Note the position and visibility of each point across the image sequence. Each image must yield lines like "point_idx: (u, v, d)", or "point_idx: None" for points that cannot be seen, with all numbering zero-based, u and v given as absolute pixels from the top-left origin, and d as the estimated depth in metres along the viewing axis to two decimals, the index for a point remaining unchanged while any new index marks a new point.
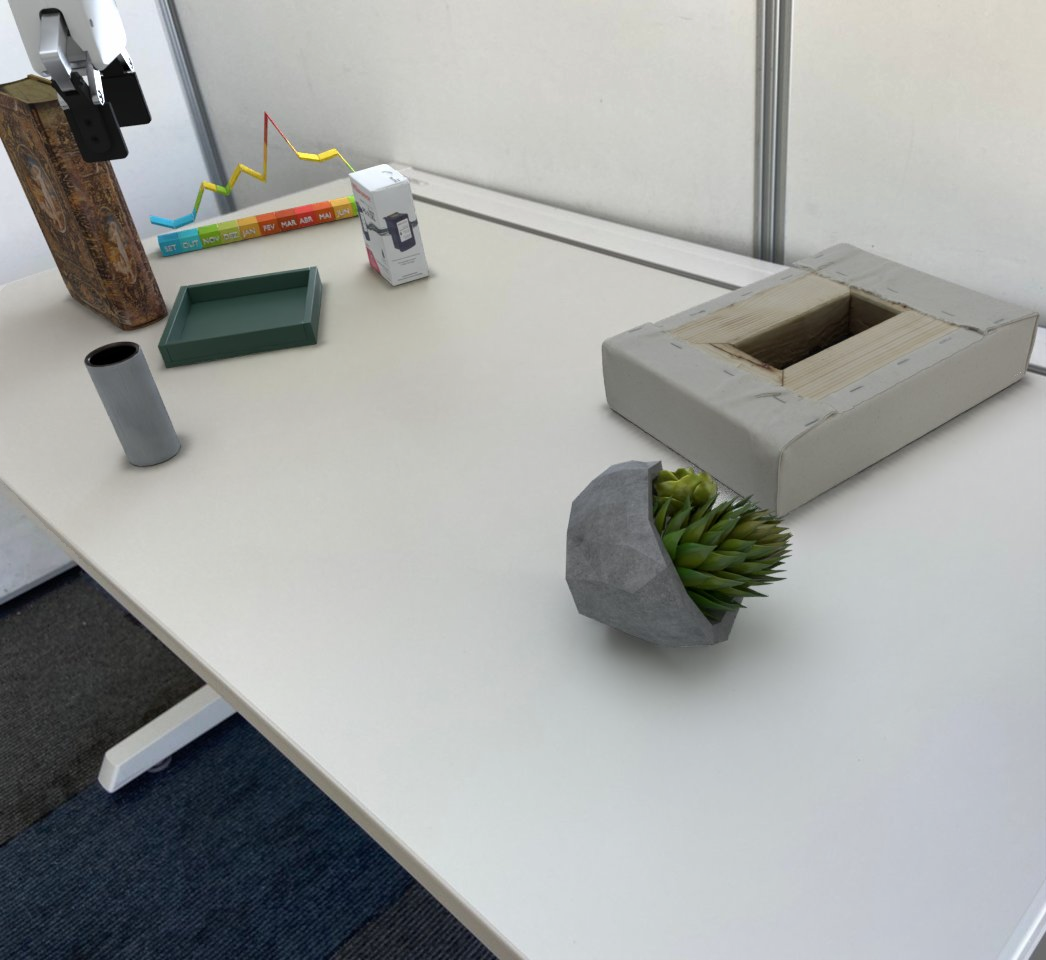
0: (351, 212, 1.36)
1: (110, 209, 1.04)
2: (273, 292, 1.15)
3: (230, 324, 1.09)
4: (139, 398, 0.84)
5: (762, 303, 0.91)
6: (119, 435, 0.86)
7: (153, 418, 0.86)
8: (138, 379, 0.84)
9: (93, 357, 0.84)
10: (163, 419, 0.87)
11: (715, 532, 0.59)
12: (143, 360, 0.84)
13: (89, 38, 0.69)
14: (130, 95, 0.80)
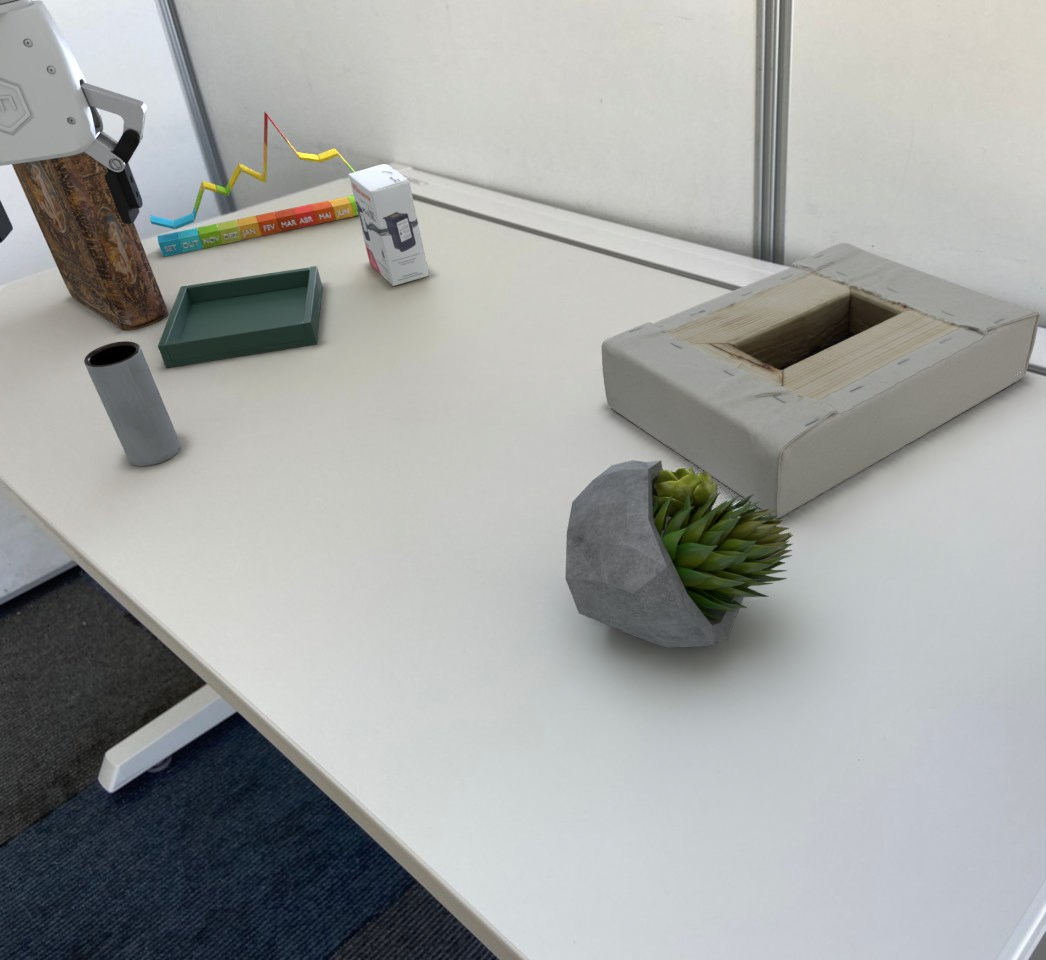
0: (351, 212, 1.36)
1: (110, 209, 1.04)
2: (273, 292, 1.15)
3: (230, 324, 1.09)
4: (139, 398, 0.84)
5: (762, 303, 0.91)
6: (119, 435, 0.86)
7: (153, 418, 0.86)
8: (138, 379, 0.84)
9: (93, 357, 0.84)
10: (163, 419, 0.87)
11: (715, 532, 0.59)
12: (143, 360, 0.84)
13: None
14: None
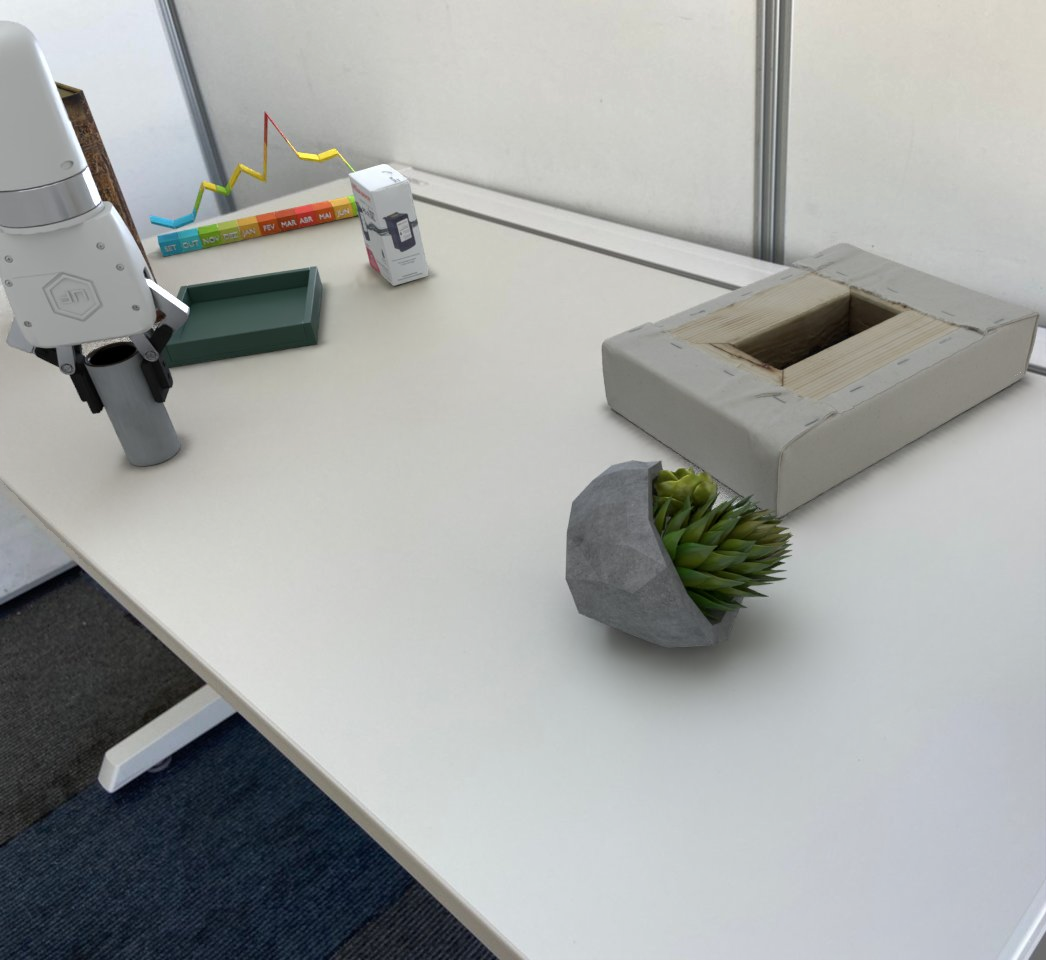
0: (351, 212, 1.36)
1: None
2: (273, 292, 1.15)
3: (230, 324, 1.09)
4: (139, 398, 0.84)
5: (762, 303, 0.91)
6: (119, 435, 0.86)
7: (153, 418, 0.86)
8: (138, 379, 0.84)
9: (93, 357, 0.84)
10: (163, 419, 0.87)
11: (715, 532, 0.59)
12: None
13: None
14: None
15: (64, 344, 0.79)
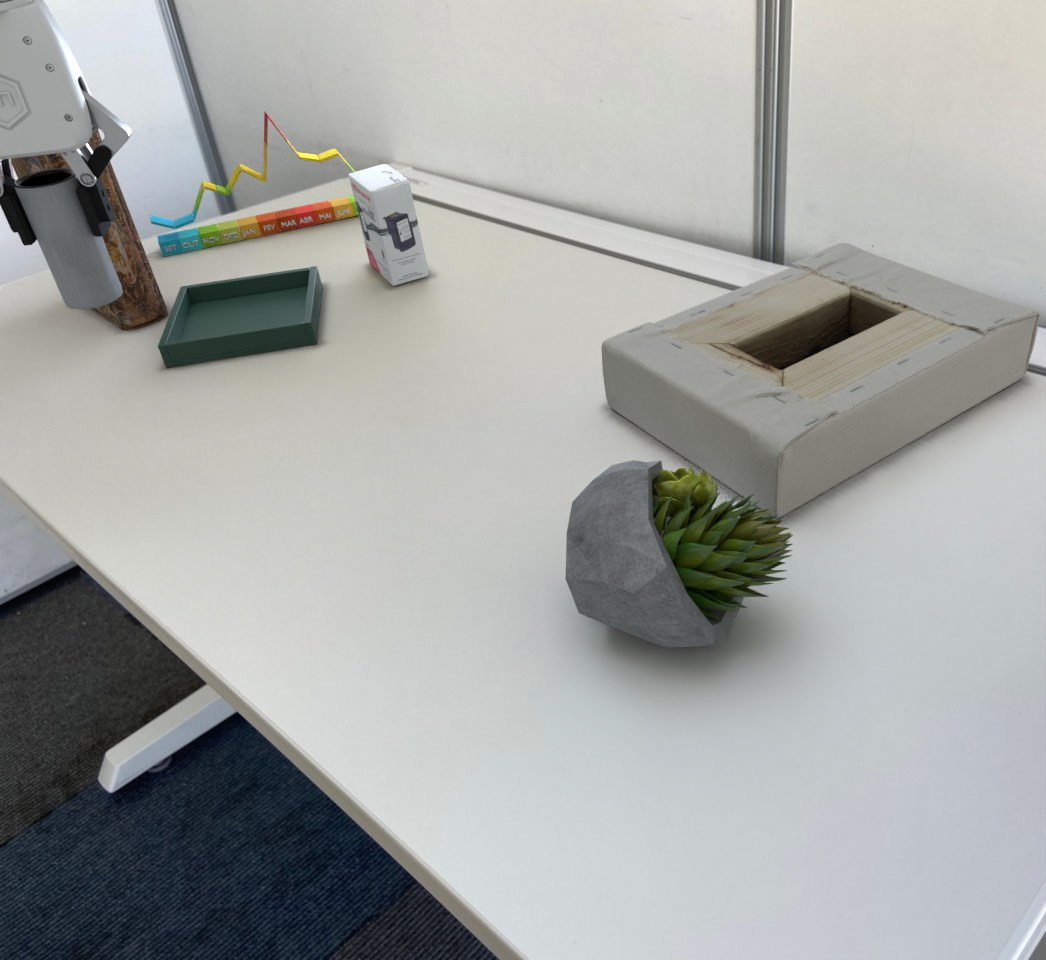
0: (351, 212, 1.36)
1: None
2: (273, 292, 1.15)
3: (230, 324, 1.09)
4: (75, 229, 0.77)
5: (762, 303, 0.91)
6: (53, 272, 0.79)
7: (91, 254, 0.79)
8: (73, 207, 0.76)
9: (24, 182, 0.77)
10: (102, 257, 0.80)
11: (715, 532, 0.59)
12: None
13: None
14: None
15: None
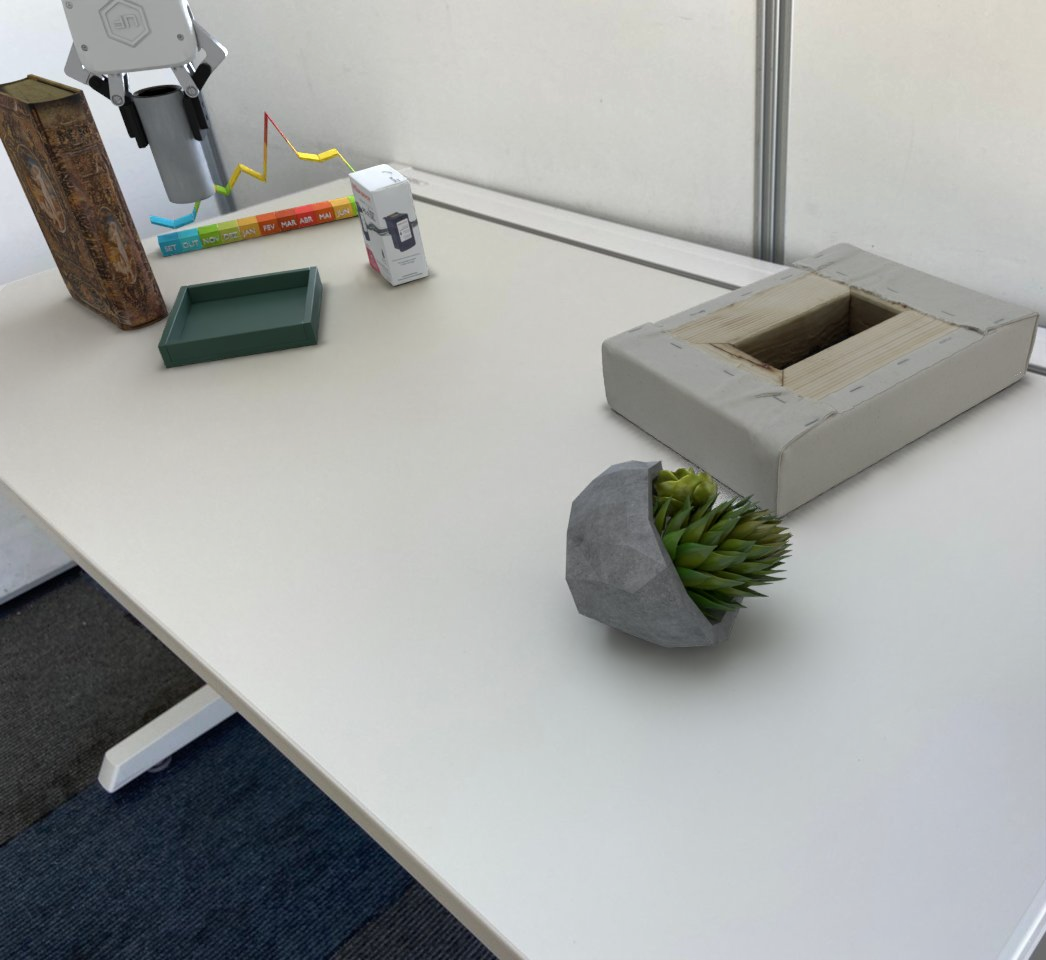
0: (351, 212, 1.36)
1: (110, 209, 1.04)
2: (273, 292, 1.15)
3: (230, 324, 1.09)
4: (180, 133, 0.94)
5: (762, 303, 0.91)
6: (161, 172, 0.95)
7: (192, 155, 0.95)
8: (180, 114, 0.93)
9: (139, 95, 0.93)
10: (201, 160, 0.96)
11: (715, 532, 0.59)
12: None
13: None
14: None
15: (116, 70, 0.89)
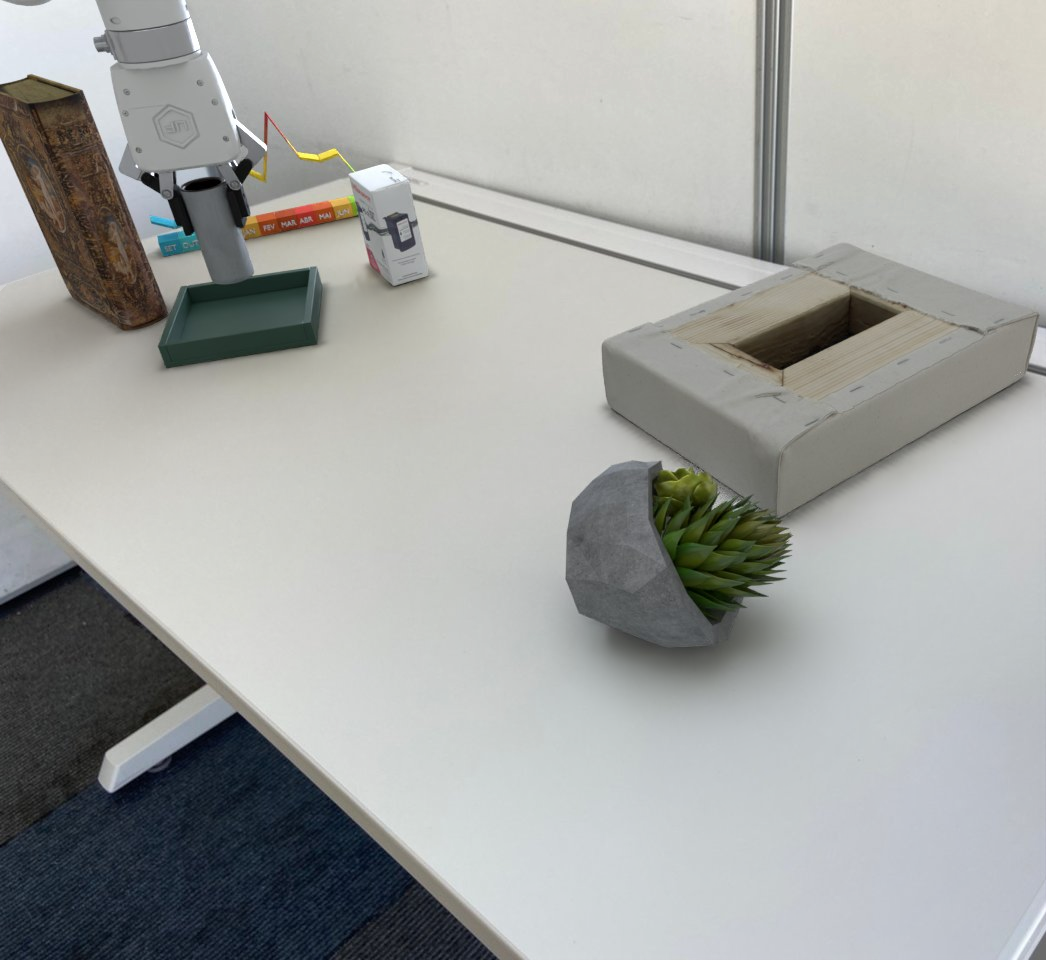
0: (351, 212, 1.36)
1: (110, 209, 1.04)
2: (273, 292, 1.15)
3: (230, 324, 1.09)
4: (224, 222, 1.02)
5: (762, 303, 0.91)
6: (206, 256, 1.03)
7: (234, 241, 1.03)
8: (223, 205, 1.01)
9: (186, 187, 1.01)
10: (242, 244, 1.04)
11: (715, 532, 0.59)
12: None
13: None
14: None
15: (167, 169, 0.97)
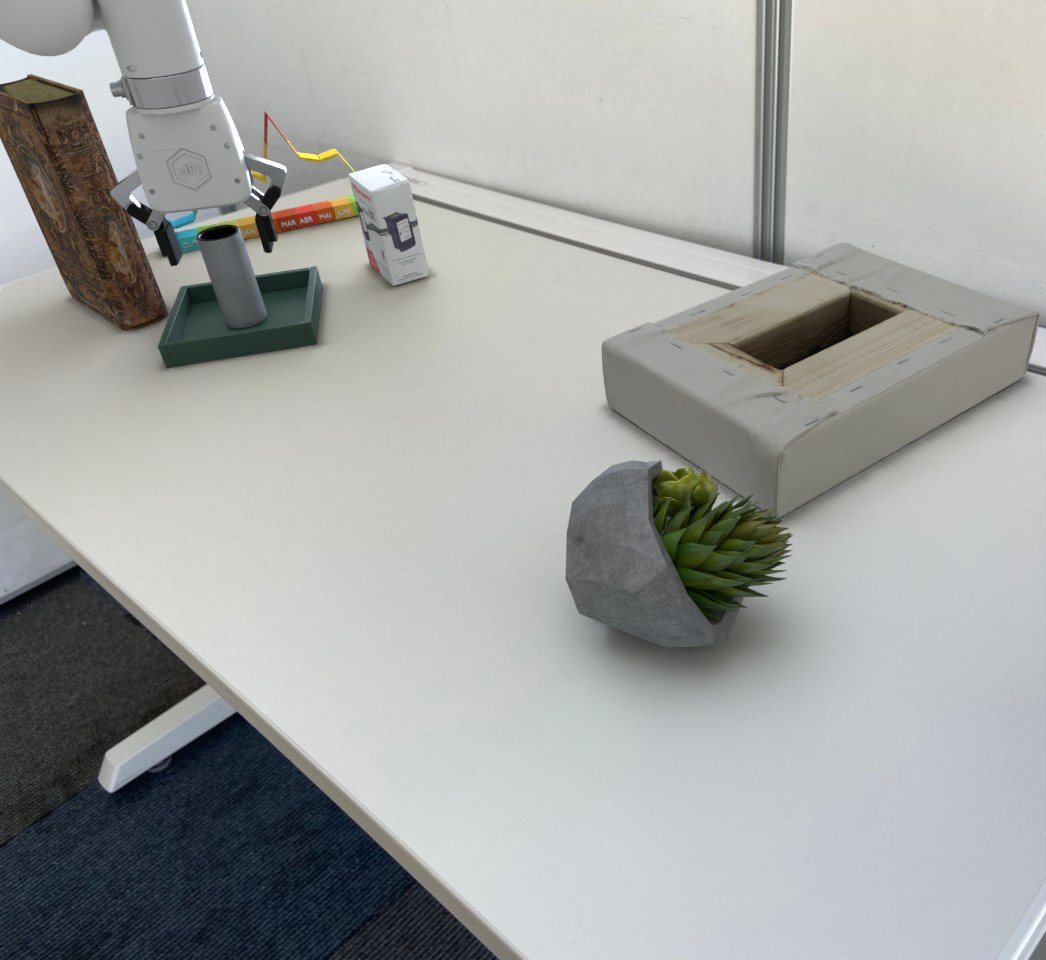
0: (351, 212, 1.36)
1: (110, 209, 1.04)
2: (273, 292, 1.15)
3: None
4: (239, 269, 1.05)
5: (762, 303, 0.91)
6: (221, 301, 1.06)
7: (248, 287, 1.06)
8: (238, 253, 1.04)
9: (202, 236, 1.04)
10: (255, 289, 1.07)
11: (715, 532, 0.59)
12: (242, 238, 1.05)
13: None
14: (174, 236, 1.04)
15: (179, 210, 0.99)
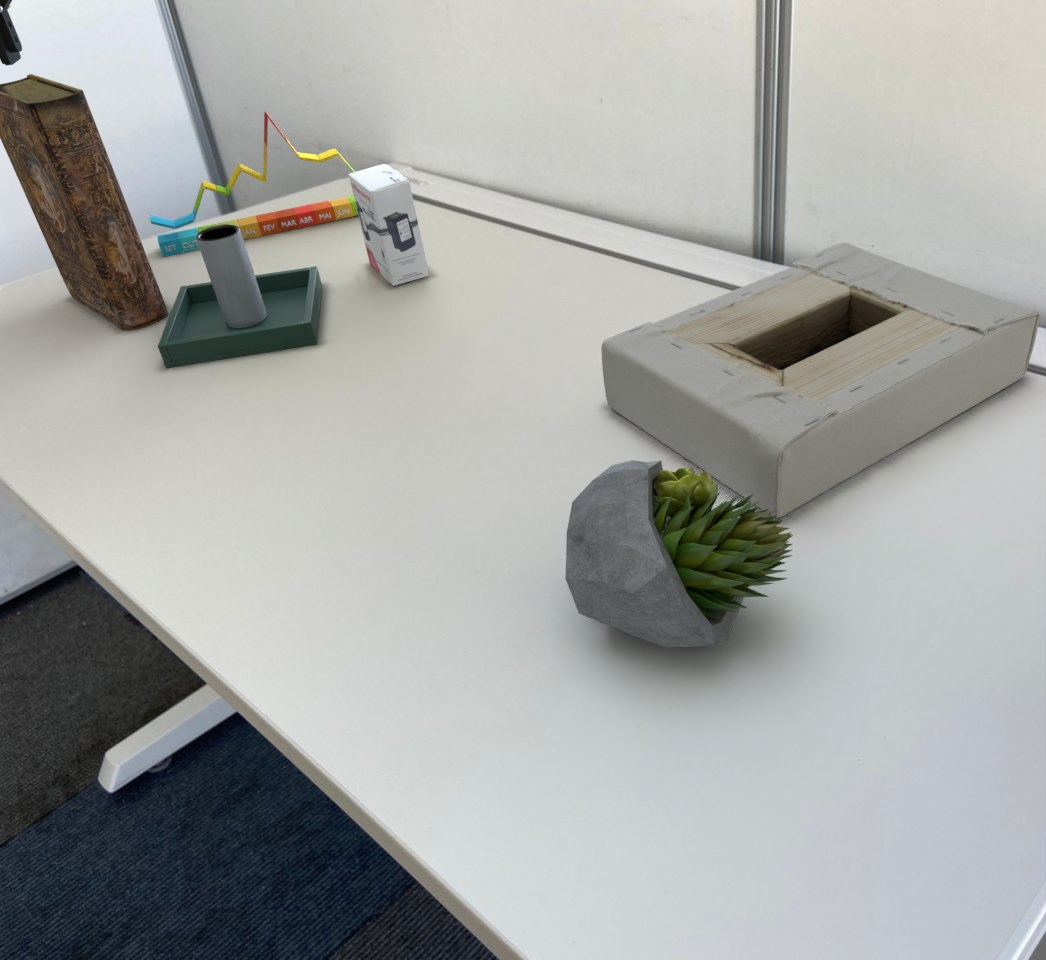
0: (351, 212, 1.36)
1: (110, 209, 1.04)
2: (273, 292, 1.15)
3: None
4: (238, 269, 1.05)
5: (762, 303, 0.91)
6: (221, 301, 1.06)
7: (248, 287, 1.06)
8: (238, 253, 1.04)
9: (202, 236, 1.04)
10: (255, 289, 1.07)
11: (715, 532, 0.59)
12: (242, 238, 1.05)
13: None
14: None
15: None
